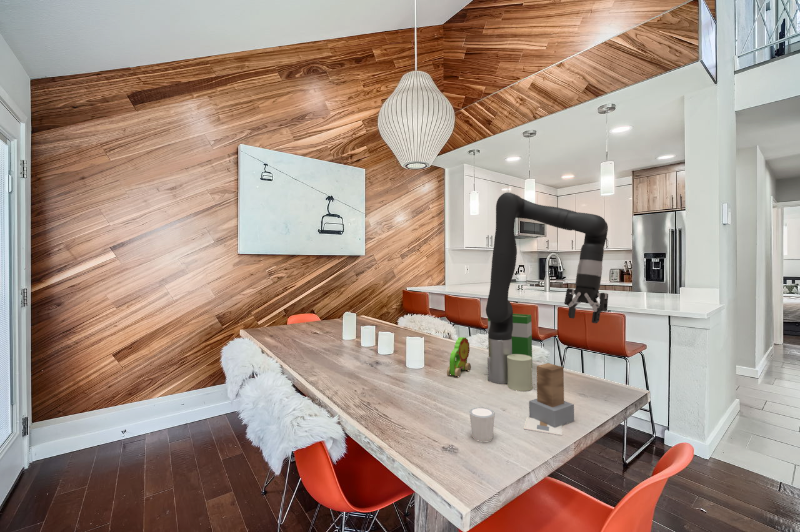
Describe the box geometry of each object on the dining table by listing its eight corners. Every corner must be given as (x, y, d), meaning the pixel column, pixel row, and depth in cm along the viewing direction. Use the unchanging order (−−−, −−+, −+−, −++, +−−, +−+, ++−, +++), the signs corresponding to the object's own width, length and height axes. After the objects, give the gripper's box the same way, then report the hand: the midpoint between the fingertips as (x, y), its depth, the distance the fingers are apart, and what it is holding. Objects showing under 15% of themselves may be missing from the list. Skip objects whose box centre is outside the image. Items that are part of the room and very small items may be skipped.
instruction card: (523, 429, 102) (523, 428, 102) (526, 417, 109) (526, 417, 109) (561, 435, 97) (561, 434, 97) (562, 423, 105) (562, 422, 105)
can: (514, 381, 142) (514, 351, 142) (536, 386, 135) (536, 355, 135) (502, 387, 135) (502, 356, 135) (525, 393, 129) (525, 360, 129)
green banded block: (488, 366, 163) (487, 314, 163) (494, 362, 169) (493, 312, 169) (528, 372, 153) (527, 317, 153) (532, 367, 159) (531, 314, 159)
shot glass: (466, 431, 101) (466, 407, 101) (490, 430, 101) (489, 406, 101) (473, 444, 94) (473, 418, 94) (498, 442, 95) (498, 416, 95)
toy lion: (457, 378, 147) (456, 342, 146) (446, 376, 150) (445, 340, 150) (473, 368, 159) (472, 335, 159) (462, 367, 163) (461, 334, 162)
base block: (529, 416, 109) (529, 400, 109) (548, 410, 114) (548, 394, 114) (554, 428, 102) (554, 411, 101) (574, 420, 106) (573, 404, 106)
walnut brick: (537, 401, 109) (536, 365, 109) (548, 397, 112) (548, 363, 111) (552, 407, 104) (551, 370, 104) (564, 403, 107) (563, 367, 107)
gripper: (563, 271, 126) (557, 316, 126) (602, 274, 113) (595, 324, 113) (577, 273, 130) (571, 317, 129) (616, 276, 117) (609, 325, 117)
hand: (582, 320), depth 121 cm, fingers open, 8 cm apart
